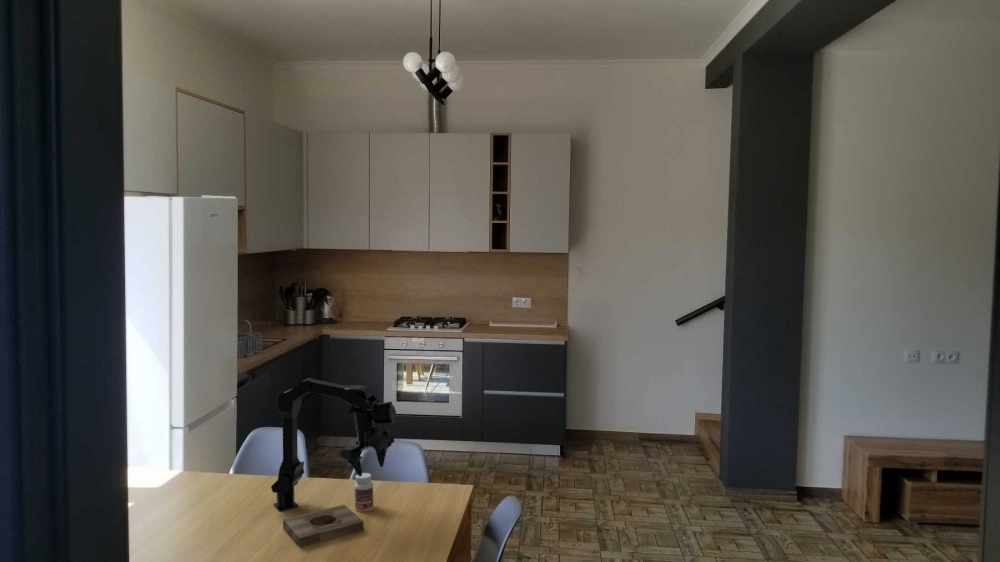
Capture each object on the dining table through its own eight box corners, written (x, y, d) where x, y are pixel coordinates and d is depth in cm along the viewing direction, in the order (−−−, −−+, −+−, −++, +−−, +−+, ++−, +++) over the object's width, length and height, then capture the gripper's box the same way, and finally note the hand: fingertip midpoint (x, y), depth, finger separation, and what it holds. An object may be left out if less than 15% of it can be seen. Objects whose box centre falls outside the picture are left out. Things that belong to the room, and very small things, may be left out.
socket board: (283, 528, 215) (282, 519, 215) (344, 513, 226) (344, 504, 226) (299, 548, 202) (299, 538, 201) (363, 530, 213) (363, 521, 213)
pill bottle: (376, 509, 229) (375, 476, 228) (359, 513, 226) (358, 480, 225) (369, 503, 234) (368, 470, 233) (352, 507, 231) (351, 474, 230)
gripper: (358, 435, 212) (365, 484, 213) (402, 418, 227) (408, 464, 228) (336, 432, 219) (342, 480, 220) (379, 416, 234) (385, 461, 235)
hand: (371, 471), depth 226 cm, fingers open, 9 cm apart
